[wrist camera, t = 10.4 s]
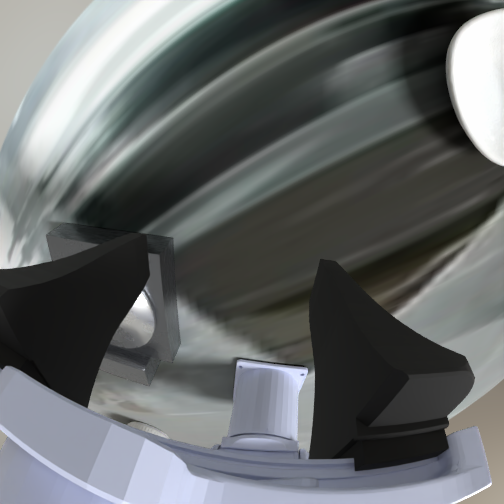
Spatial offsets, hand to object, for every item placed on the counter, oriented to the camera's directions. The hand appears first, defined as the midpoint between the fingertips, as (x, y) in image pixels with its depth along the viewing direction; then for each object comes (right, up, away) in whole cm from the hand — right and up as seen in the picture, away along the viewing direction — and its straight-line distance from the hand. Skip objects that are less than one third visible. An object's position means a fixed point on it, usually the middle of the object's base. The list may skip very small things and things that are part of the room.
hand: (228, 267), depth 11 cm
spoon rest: (+22, +19, 0) cm, 29 cm away
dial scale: (-13, -4, +16) cm, 21 cm away
